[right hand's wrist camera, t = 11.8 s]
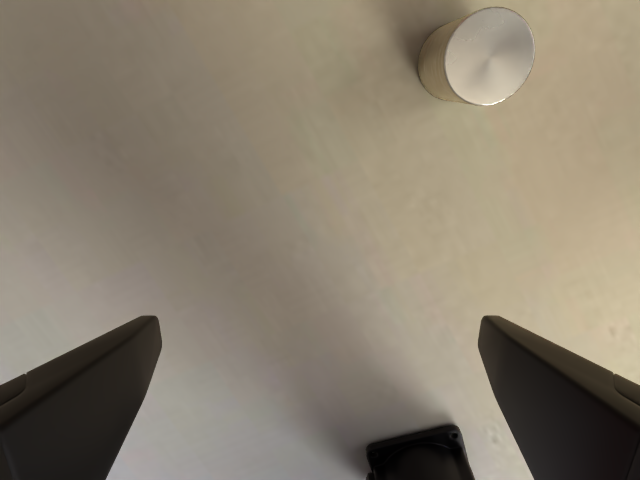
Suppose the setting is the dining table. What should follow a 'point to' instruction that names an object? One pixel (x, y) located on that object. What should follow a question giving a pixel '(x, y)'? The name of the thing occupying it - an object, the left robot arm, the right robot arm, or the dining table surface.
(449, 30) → the can
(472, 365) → the dining table surface
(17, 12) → the dining table surface
